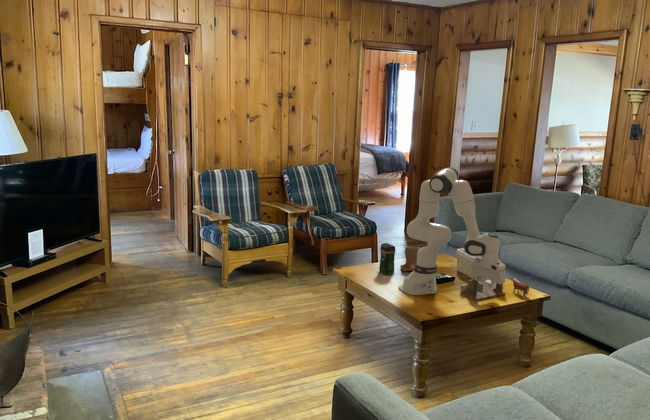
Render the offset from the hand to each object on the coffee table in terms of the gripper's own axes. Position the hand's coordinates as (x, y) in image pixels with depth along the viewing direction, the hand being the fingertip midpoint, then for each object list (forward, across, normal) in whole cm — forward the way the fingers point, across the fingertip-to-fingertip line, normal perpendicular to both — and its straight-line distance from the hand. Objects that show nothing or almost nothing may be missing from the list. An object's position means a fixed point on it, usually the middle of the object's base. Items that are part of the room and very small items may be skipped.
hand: (486, 285), depth 298 cm
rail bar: (+2, 0, 0) cm, 2 cm away
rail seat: (+9, -6, +5) cm, 12 cm away
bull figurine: (+10, +4, +24) cm, 26 cm away
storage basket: (+11, -31, +28) cm, 44 cm away
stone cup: (+11, -60, 0) cm, 61 cm away
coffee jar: (+10, -63, -18) cm, 66 cm away
